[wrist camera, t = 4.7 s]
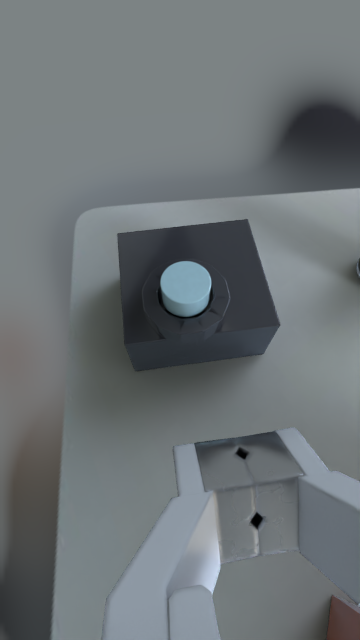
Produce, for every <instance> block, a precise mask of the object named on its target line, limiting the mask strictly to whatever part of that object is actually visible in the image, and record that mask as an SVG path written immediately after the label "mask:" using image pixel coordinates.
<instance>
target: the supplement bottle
mask: <svg viewBox="0 0 360 640" xmlns="http://www.w3.org/2000/svg"><path fill="white" fill-rule="evenodd" d="M357 273H358V276H359V278H360V258H359V260H358V262H357Z"/></svg>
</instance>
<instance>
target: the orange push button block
mask: <svg viewBox="0 0 360 640" xmlns="http://www.w3.org/2000/svg"><path fill="white" fill-rule="evenodd" d="M326 640H360V606H357V605H355V604H353V603H350V602H348V601H346V600H343V599H341V598H339V597H337V596H334V595H332V599H331V607H330V615H329V623H328V631H327V639H326Z"/></svg>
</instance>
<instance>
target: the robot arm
mask: <svg viewBox="0 0 360 640" xmlns="http://www.w3.org/2000/svg"><path fill="white" fill-rule="evenodd" d="M173 456H174V465H175V473H176V482H177V491H178V497H174V498H171V500H170V501H169V503H168V504H167V506H166V507H165V509H164V510H163V512H162V514H161V515H160V517H159V518H158V520H157V521H156V523H155V524H154V526H153V527H152V529H151V530H150V532H149V534H148V535H147V537H146V538H145V540H144V541H143V543H142V544H141V546H140V547H139V549H138V551H137V552H136V554H135V555H134V557H133V558H132V560H131V561H130V563H129V564H128V566H127V567H126V569H125V571H124V572H123V574H122V575H121V577H120V578H119V580H118V581H117V583H116V584H115V586H114V588H113V589H112V591H111V592H110V594H109V595H108V597H107V598H106V604H105V612H104V620H103V629H102V637H101V640H220V635H219V630H218V624H217V619H216V614H215V608H214V603H213V598H212V594H213V591H214V588H215V584H216V581H217V578H218V575H219V571H220V568H221V565H220V564H225V563H230V562H234V561H239V560H244V559H248V558H253V557H258V556H264V555H271V554H278V553H285V552H291V551H298V550H300V553H301V554H302V555H303V556H304V557H305V558H306V559H307V560H309V561H310V562H311V563H312V564H313V565H314V566H315V567H316V568H318V569H319V570H320V571H321V572H322V573H323V574H324V575H325V576H327V577H328V578H329V579H330V580H331V581H332V582H333V583H334V584H336V585H337V586H338V587H339V588H340V589H341V590H342V591H343V592H344V593H346V594H347V595H348V596H349V597H350V598H351V599H352V600H353V601H355V602H356V603H357V604H358V605H359V606H360V481H358V480H355V479H353V478H351V477H349V476H347V475H345V474H343V473H341V472H339V471H331V472H330V471H329V469H328V468H327V467H326V466H325V464H324V463H323V462H322V460H321V459H320V458H319V457H318V455H317V454H316V453H315V451H314V450H313V449H312V448H311V446H310V445H309V444H308V442H307V441H306V440H305V439H304V437H303V436H302V435H301V433H300V432H299V431H298V430H297V429H296V428H294V427H291V428H286V429H281V430H275V431H273V432H267V433H261V434H255V435H249V436H243V437H237V438H227V439H219V440H212V441H204V442H197V443H194V444H193V443H190V444H183V445H177V446H173Z"/></svg>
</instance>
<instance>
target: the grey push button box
mask: <svg viewBox="0 0 360 640" xmlns="http://www.w3.org/2000/svg"><path fill="white" fill-rule="evenodd" d="M117 237H118V252H119V267H120V282H121V297H122V313H123V328H124V343H125V347H126V349H127V352H128V354H129V357H130V359H131V362H132V364H133V367H134V369H135V371H142V370H149V369H157V368H164V367H172V366H179V365H187V364H194V363H202V362H209V361H217V360H224V359H232V358H239V357H247V356H254V355H262V354H264V352H265V350H266V349H267V347H268V345H269V344H270V342H271V340H272V338H273V337H274V335H275V333H276V331H277V330H278V328H279V326H280V322H279V319H278V315H277V312H276V309H275V306H274V302H273V299H272V296H271V293H270V290H269V286H268V283H267V280H266V277H265V273H264V270H263V267H262V264H261V260H260V257H259V254H258V251H257V248H256V244H255V241H254V238H253V235H252V231H251V228H250V225H249V222H248V219H244V220H235V221H226V222H217V223H208V224H199V225H190V226H181V227H172V228H163V229H154V230H145V231H136V232H127V233H118V234H117ZM181 261H190V262H195V263H197V264H199V265H201V266H203V267H204V268H205V269H206V270H207V271H208V273H209V275H210V277H211V291H210V298H209V302H208V305H207V307H206V308H205V309H204V310H203V311H202V312H201V313H199V314H197V315H195V316H191V317H180V316H176V315H174V314H172V313H171V312H169V311H168V310H167V309H166V307H165V306H164V304H163V302H162V295H161V286H160V279H161V276H162V274H163V272H164V271H165V270H166V269H167V268H168V267H169V266H170V265H172V264H174V263H177V262H181Z"/></svg>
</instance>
